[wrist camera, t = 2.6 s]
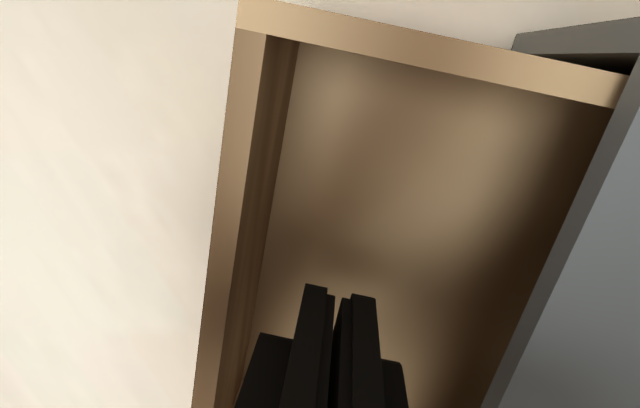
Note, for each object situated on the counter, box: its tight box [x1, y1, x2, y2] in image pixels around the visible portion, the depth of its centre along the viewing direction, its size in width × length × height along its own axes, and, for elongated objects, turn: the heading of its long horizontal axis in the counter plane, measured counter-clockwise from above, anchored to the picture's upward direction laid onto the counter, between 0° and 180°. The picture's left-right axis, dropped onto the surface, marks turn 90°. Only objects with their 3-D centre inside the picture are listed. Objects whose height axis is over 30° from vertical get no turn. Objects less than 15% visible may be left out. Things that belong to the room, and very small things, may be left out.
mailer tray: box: [191, 0, 630, 408], centre depth 12 cm, size 19×14×5 cm
